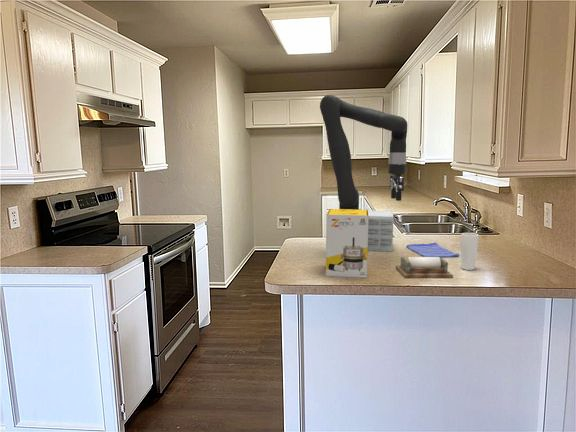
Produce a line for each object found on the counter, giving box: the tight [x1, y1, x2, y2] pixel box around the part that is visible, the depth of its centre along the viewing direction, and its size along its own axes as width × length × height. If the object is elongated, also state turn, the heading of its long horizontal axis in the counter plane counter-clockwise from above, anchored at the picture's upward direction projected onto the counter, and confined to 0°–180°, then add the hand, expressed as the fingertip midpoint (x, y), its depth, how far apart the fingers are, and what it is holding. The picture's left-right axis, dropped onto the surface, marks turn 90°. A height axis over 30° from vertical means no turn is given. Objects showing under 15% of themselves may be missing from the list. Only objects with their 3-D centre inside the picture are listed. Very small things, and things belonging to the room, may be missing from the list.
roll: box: [406, 256, 441, 268], centre depth 171 cm, size 13×6×6 cm, turn 89°
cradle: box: [395, 256, 454, 279], centre depth 171 cm, size 19×14×6 cm
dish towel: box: [406, 242, 461, 259], centre depth 207 cm, size 17×24×3 cm
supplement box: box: [368, 210, 395, 253], centre depth 215 cm, size 17×13×18 cm
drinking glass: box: [460, 232, 480, 271], centre depth 176 cm, size 7×7×15 cm
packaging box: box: [325, 208, 369, 279], centre depth 172 cm, size 16×16×25 cm
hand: (395, 199), depth 187 cm, fingers open, 8 cm apart
